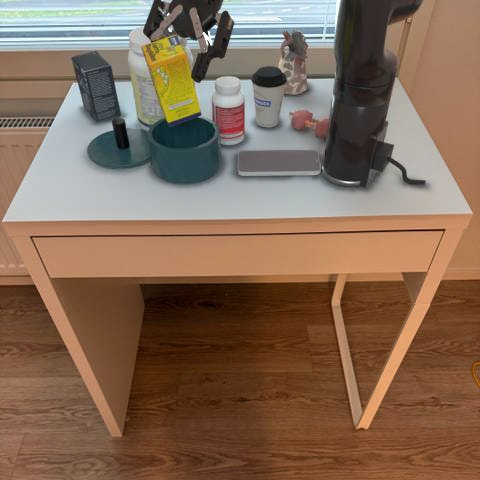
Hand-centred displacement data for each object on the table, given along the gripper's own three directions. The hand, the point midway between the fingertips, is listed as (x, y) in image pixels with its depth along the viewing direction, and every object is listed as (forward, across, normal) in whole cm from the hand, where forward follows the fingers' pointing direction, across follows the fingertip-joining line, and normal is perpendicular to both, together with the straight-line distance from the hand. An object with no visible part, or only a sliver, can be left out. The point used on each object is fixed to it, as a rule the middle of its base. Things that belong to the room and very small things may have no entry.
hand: (172, 74), depth 78 cm
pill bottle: (+3, +2, +21) cm, 21 cm away
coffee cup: (-4, +6, +28) cm, 29 cm away
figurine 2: (-8, +16, +31) cm, 36 cm away
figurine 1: (-16, +3, +40) cm, 43 cm away
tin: (+11, 0, +12) cm, 17 cm away
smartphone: (+5, +15, +18) cm, 24 cm away
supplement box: (+4, 0, +5) cm, 7 cm away
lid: (+12, -13, +11) cm, 21 cm away
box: (+6, -27, +18) cm, 33 cm away
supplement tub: (+3, -12, +21) cm, 24 cm away
